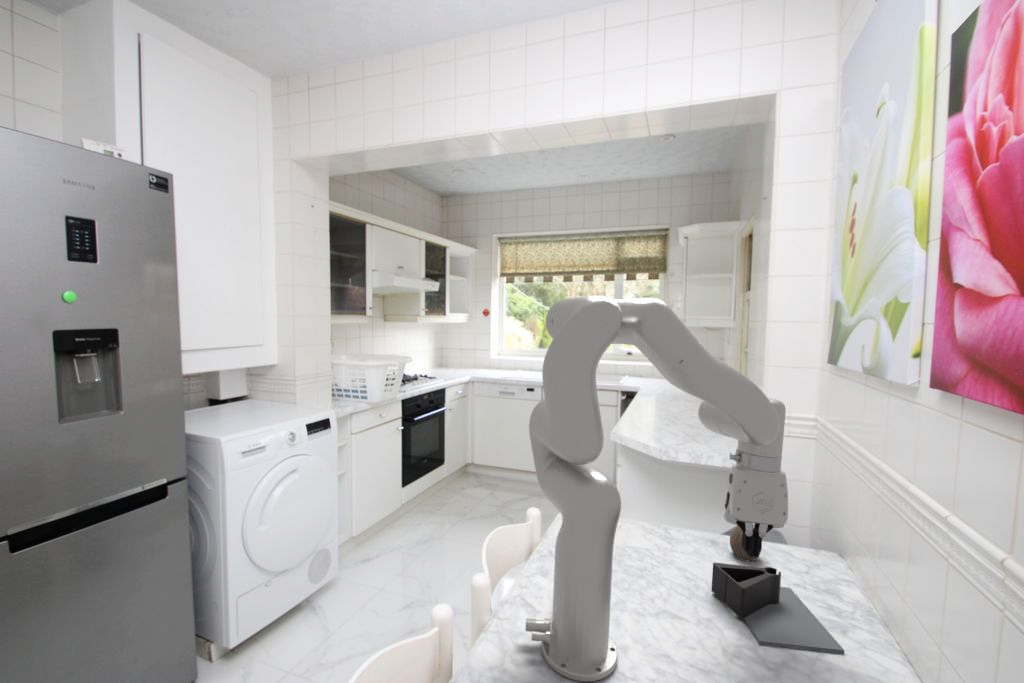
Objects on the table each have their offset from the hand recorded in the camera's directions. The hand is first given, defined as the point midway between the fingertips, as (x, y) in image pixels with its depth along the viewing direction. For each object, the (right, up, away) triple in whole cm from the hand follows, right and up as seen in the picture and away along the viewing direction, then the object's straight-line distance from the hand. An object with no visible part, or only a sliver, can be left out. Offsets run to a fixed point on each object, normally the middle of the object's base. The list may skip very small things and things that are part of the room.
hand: (750, 553), depth 85 cm
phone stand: (-4, -8, +2) cm, 9 cm away
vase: (+10, -12, +22) cm, 27 cm away
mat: (+5, -12, 0) cm, 13 cm away
